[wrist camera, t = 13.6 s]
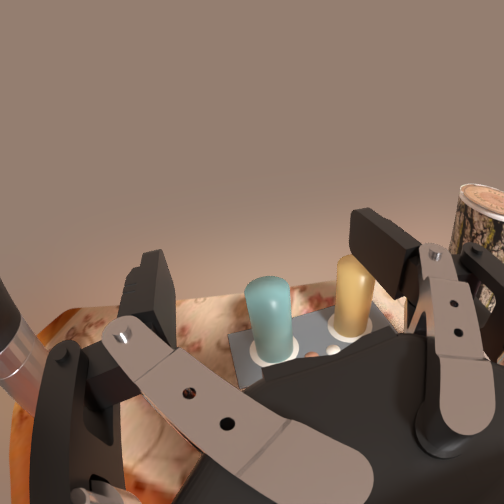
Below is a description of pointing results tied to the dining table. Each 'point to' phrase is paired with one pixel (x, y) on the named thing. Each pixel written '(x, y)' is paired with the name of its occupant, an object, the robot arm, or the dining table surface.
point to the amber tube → (352, 297)
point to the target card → (298, 341)
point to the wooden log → (480, 227)
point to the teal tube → (270, 318)
